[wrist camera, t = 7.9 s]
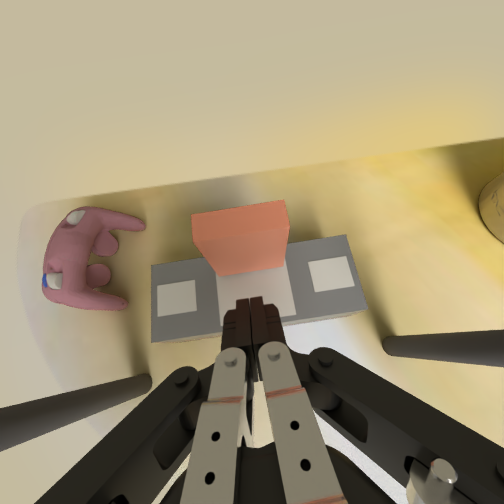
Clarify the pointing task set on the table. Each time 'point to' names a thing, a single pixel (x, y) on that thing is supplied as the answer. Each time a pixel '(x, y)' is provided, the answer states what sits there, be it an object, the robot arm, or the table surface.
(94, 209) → the video game controller
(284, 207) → the block
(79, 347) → the table surface
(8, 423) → the cord posts
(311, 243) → the breaker block
